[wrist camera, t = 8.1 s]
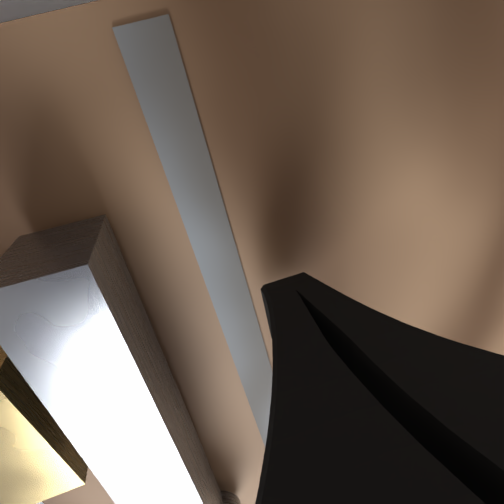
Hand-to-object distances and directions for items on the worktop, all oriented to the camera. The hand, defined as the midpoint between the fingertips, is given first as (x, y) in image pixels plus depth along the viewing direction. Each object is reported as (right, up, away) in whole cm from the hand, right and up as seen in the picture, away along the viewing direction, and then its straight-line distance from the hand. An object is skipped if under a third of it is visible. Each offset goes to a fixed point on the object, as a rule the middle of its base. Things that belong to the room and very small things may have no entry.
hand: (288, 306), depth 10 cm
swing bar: (-4, -5, +2) cm, 6 cm away
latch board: (+1, -2, +4) cm, 5 cm away
